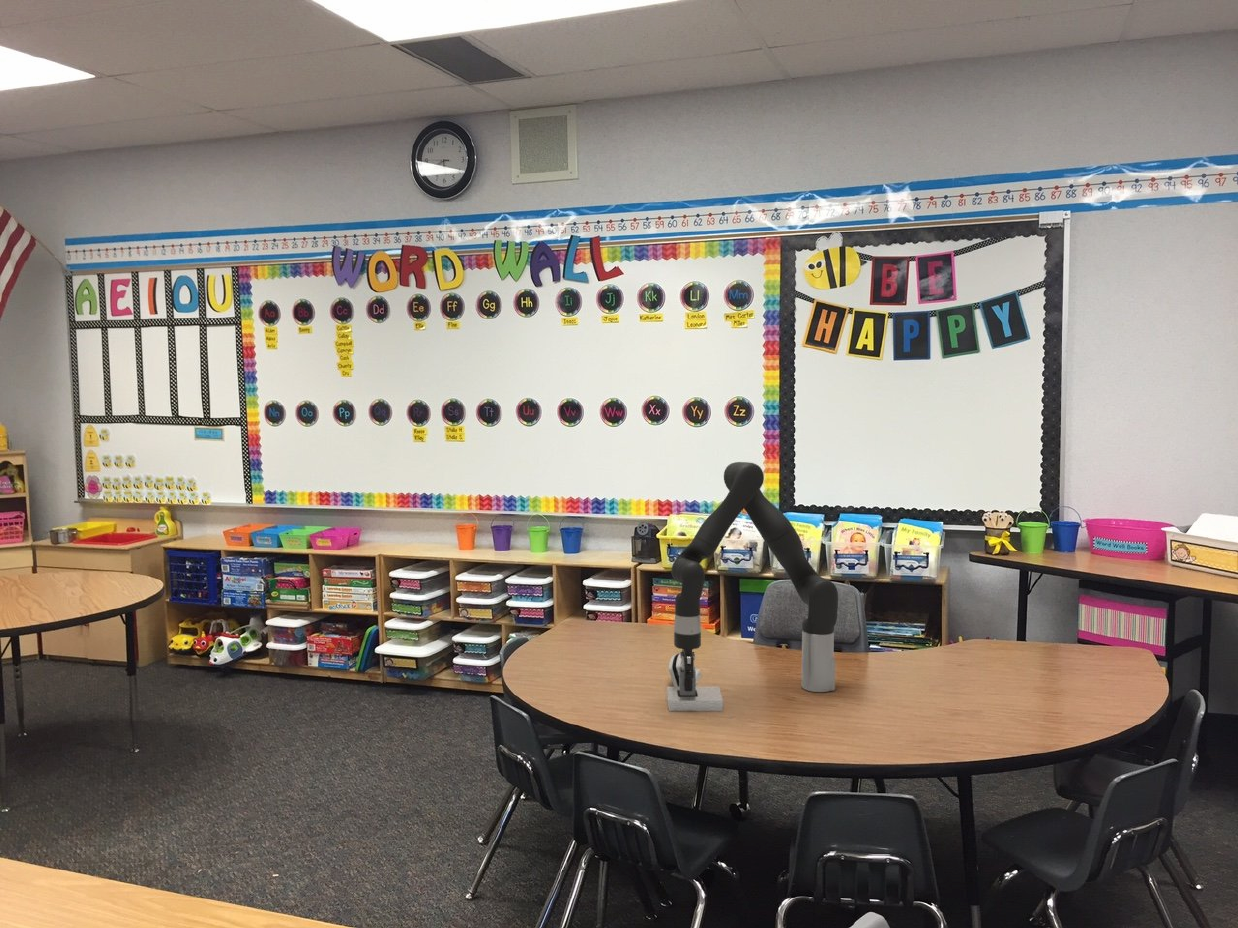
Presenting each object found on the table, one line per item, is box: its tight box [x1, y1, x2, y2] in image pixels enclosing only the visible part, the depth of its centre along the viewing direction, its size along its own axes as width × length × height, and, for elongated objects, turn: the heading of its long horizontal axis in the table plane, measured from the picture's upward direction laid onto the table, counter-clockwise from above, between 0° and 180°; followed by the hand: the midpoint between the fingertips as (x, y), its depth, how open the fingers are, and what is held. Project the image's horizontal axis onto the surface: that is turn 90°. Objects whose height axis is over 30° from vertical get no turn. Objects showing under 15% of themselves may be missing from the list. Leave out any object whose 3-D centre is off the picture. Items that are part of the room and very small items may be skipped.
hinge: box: [668, 652, 703, 687], centre depth 286 cm, size 17×5×10 cm, turn 165°
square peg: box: [679, 666, 697, 697], centre depth 266 cm, size 4×4×10 cm
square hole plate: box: [666, 686, 724, 712], centre depth 267 cm, size 15×12×3 cm
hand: (687, 686), depth 266 cm, fingers open, 8 cm apart
